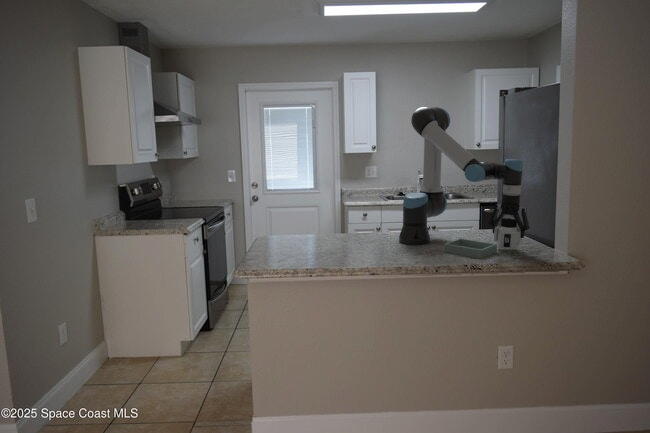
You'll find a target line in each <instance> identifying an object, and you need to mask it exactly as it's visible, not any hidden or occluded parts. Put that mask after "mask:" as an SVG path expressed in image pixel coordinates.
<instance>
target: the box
mask: <svg viewBox="0 0 650 433" xmlns="http://www.w3.org/2000/svg"><path fill="white" fill-rule="evenodd" d="M461 244H462V245H461ZM463 245H464V246H463ZM497 248H498V244H497V243H492V242H491V243H490V242H487V241H486V242H485V241H481V240H480V241H479V240H473V239H465V238H457V239H455V240H451V241H448V242H446V243H444V244H443V252H444V253H450V254H454V255H460V256H465V257H473V258H478V259H483V258H485V257H487V256H488V257H489V256H490V255H492V253H493V254H495V253H497V252H498V251H497Z"/></svg>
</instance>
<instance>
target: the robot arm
mask: <svg viewBox="0 0 650 433" xmlns="http://www.w3.org/2000/svg"><path fill="white" fill-rule="evenodd" d="M410 121H411V125H412V128H413V129H414V130H415V132H416V133H417V134H418V135H420V136H421V137H422V138H423V140H424V141H423V144H424V145H423V168H422V169H423V170H422V171H423V173H422V174H423V176H422V178H423V179H422V187H421V188H420V189H419V192H414V193H413V192H411V193H407V194H405V195H404V196H403V202H402V227H401V229H400V230H401V231H400V233H399V236H398V241H399V243H402V244H405V245H413V246H414V245H415V246H417V245H419V246H421V245H426V244H427V245H428V244H430V243H431V236H430V235H431V234H430V232H429V229H428V219H430V218H432V217H433V218H434V217H438V216H441V215H442V214H443V213H444V212H445V211H446V210H447V206H448V201H447V200H448V199H447V198H446V196H445V194H444V190H443V189H442V187H441V176H442V175H441V174H442V154H444V155H445V156H446V157H447V158H448V159H449V160H450V161H451V162H453V163H454V164H455V165H456V166H457V167H458V168H459V169H460V170H461V171H463V172H464V176H465V179H466V180H467V181H469V182H472V183H478V182H481V181H483V182H484V181H488V180H499V181H502V195H501V204H500V203H497V204H494V208H493V211H492V214H491V216H490V219H489V221H488V222H489V223H488V225H489V226H492V234H493V242H497V241H498V229H499V228H500V226H499V224H500V223H501V221H502V219H503V218H505V216H506V215H510V216H512V217H513V219H515V220H516V222H517V226H518V228H519V230H518V232H519V233H518V246H521V245H522V243H523V239H524V238H525V233H526V232H525V231H528V230H530V228H531V227H530V224H529V219H528V215H527V207H525V206H524V207H522V206H520V203H521V195H520V194H522V193H521V192H522V181H523V180H522V178H523V171H524V169H523V168H524V167H523V166H524V164H523V160H521V159H519V158H518V159H517V158H507V159H505V160H504V162H492V161H481V162H480V161H479V160H477V158H476V157H475V156H473V155H472V154H471V153H470V152H469V151H468V150H466V149H465V148H464V147H463V146H462V145H461V144H460V143H458V141H456V140H455V139H454V138H453V137H452V136H450V135H449V134H448V133H447V132H446V130H448V128H450V125H451V116H450V114H449V112H448V111H447V110H446V109H444V108H441V107H438V106H435V107H433V106H432V107H431V106H430V107H429V106H422V107H419V108H417V109H416V110H414V111H413V113H412V116H411V120H410ZM500 209H501V210H502V211H501V212H500V214H499V216H498V213H499V210H500ZM519 211H520V213H521V217H520V214H519ZM497 216H498V217H497ZM521 218H522V219H521Z"/></svg>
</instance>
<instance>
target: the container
mask: <svg viewBox="0 0 650 433" xmlns="http://www.w3.org/2000/svg"><path fill="white" fill-rule="evenodd" d="M517 226H518V224H517V222H516V220H515V218H514V217H513V218H512V217H503V218H502V220H501V221H500V227H499V229H498V240H497V241H496V242H497V243H496V244H497V247H498V248H499V249H509V250H518V246H519V245H518V233H519V230H517Z"/></svg>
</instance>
